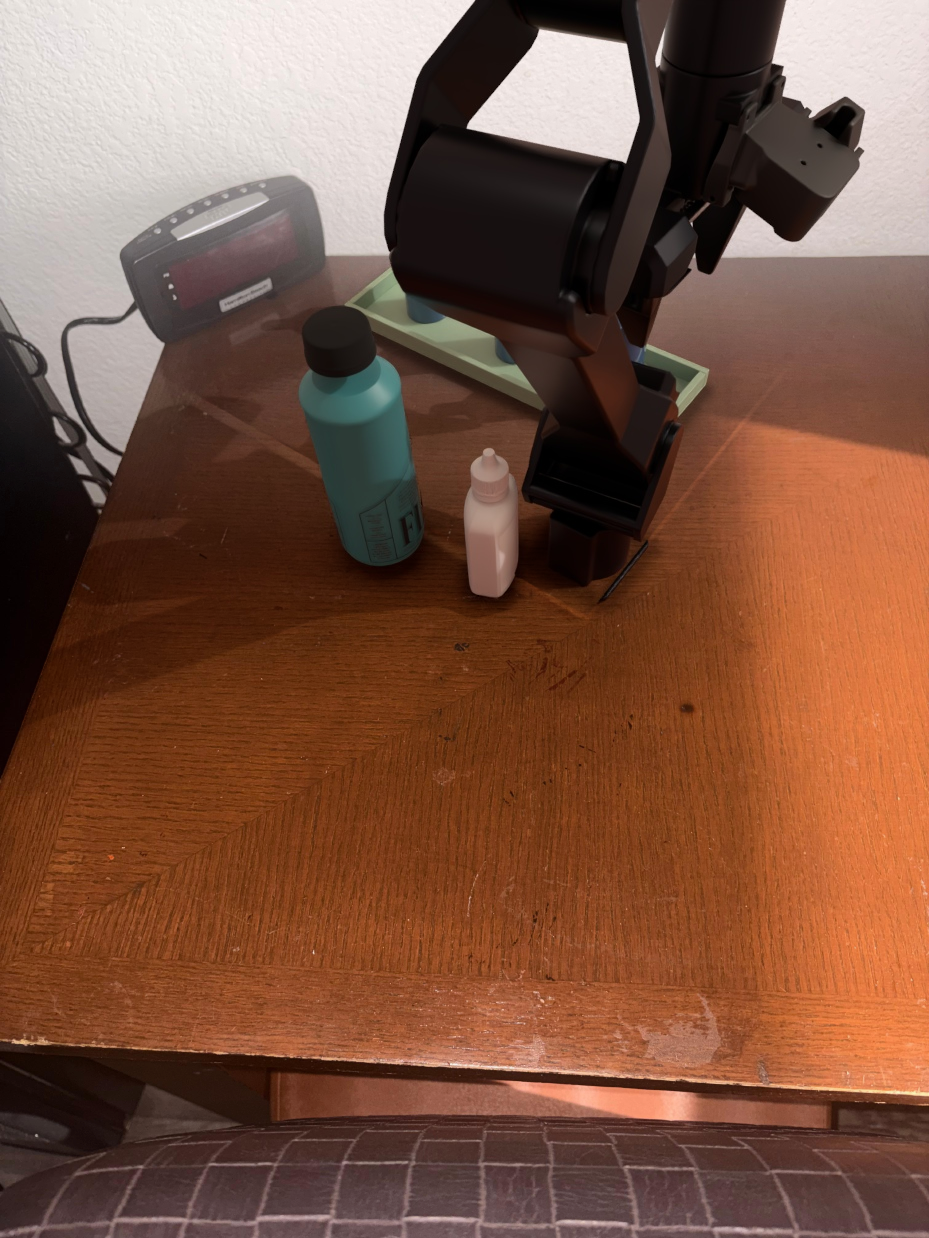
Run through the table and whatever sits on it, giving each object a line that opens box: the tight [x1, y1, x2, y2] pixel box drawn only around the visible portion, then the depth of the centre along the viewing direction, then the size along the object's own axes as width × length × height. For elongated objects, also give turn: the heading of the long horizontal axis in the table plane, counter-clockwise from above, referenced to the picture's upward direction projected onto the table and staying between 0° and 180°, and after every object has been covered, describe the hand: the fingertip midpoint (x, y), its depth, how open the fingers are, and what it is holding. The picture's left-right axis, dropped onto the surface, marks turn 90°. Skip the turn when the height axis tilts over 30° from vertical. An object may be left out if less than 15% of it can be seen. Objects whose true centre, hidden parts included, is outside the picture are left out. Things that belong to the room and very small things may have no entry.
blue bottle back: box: [404, 293, 446, 324], centre depth 73 cm, size 4×4×11 cm
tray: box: [343, 266, 710, 418], centre depth 74 cm, size 10×31×2 cm, turn 53°
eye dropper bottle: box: [463, 447, 520, 598], centre depth 57 cm, size 4×6×12 cm
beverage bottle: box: [297, 305, 426, 567], centre depth 55 cm, size 6×7×20 cm
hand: (672, 307), depth 57 cm, fingers open, 9 cm apart
